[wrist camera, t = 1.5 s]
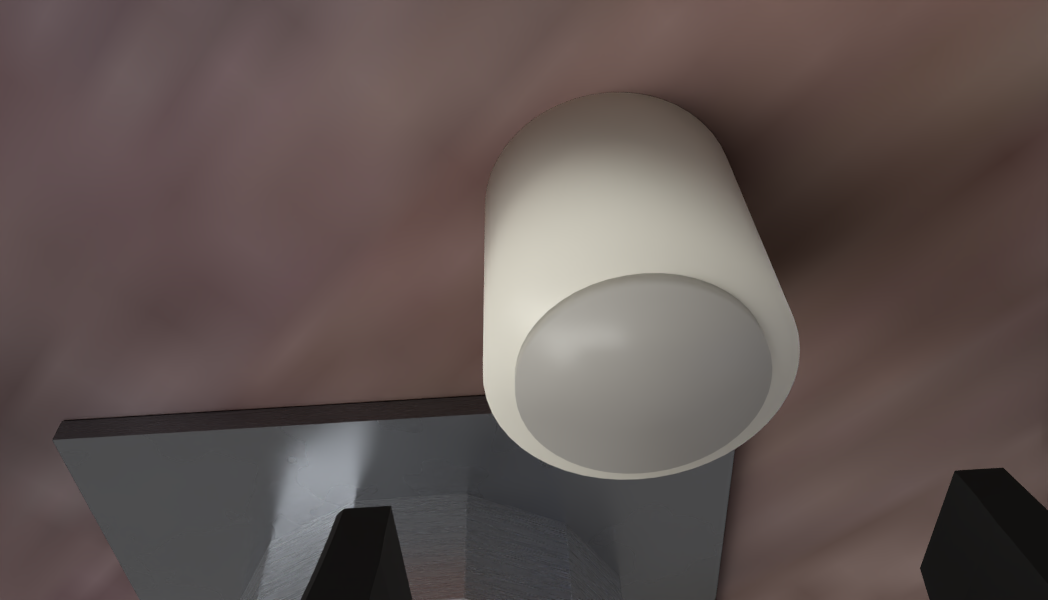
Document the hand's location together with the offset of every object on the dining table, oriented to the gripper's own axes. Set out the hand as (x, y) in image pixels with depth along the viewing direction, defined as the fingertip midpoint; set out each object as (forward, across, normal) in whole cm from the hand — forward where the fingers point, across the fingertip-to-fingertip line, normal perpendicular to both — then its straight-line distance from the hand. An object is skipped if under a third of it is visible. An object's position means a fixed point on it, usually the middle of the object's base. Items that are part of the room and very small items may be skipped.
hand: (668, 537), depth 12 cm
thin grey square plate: (+8, +5, +13) cm, 16 cm away
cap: (+8, 0, 0) cm, 8 cm away
